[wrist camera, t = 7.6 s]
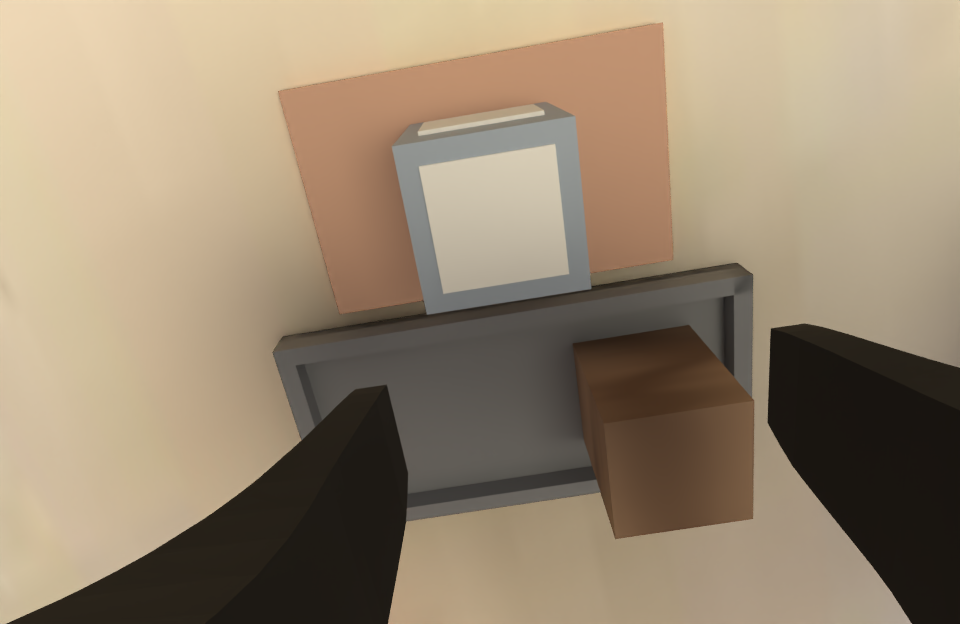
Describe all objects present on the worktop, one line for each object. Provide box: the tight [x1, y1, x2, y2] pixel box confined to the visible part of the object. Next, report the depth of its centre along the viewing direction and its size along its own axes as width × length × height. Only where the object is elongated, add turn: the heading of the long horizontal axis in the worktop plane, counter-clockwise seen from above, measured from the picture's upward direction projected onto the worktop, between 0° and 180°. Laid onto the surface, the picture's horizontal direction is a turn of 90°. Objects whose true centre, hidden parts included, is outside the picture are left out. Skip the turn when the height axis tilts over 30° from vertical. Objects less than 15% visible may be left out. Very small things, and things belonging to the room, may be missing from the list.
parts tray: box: [273, 263, 753, 521], centre depth 21 cm, size 16×8×1 cm, turn 99°
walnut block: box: [573, 325, 754, 539], centre depth 19 cm, size 4×4×5 cm
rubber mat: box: [278, 23, 673, 314], centre depth 19 cm, size 11×7×1 cm, turn 99°
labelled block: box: [392, 102, 591, 315], centre depth 16 cm, size 4×4×5 cm
